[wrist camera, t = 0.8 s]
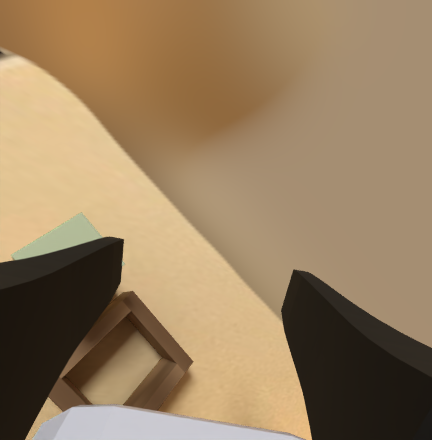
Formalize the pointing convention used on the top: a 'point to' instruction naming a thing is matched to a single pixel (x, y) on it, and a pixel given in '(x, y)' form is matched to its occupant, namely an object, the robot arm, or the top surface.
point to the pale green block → (61, 238)
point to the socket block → (154, 333)
